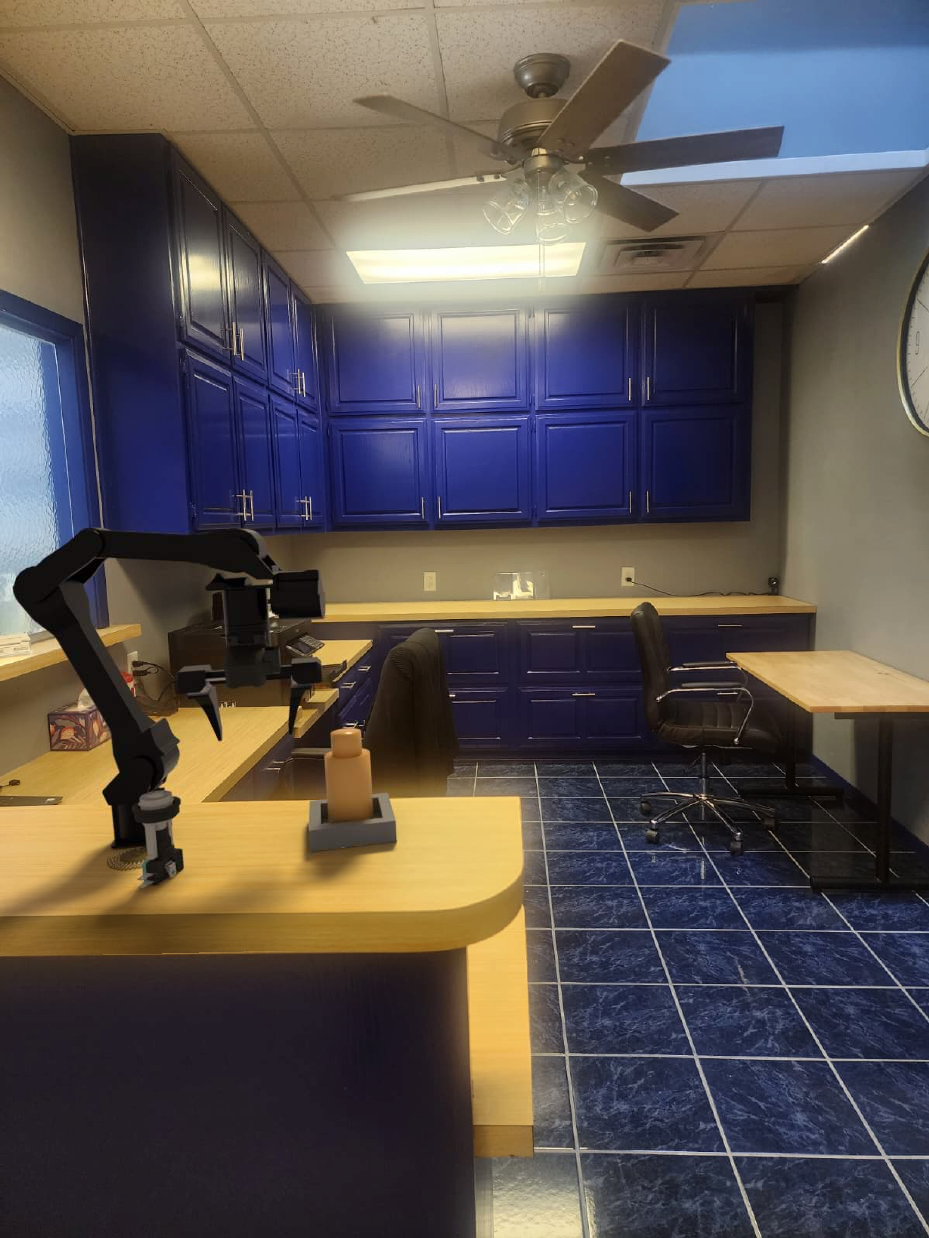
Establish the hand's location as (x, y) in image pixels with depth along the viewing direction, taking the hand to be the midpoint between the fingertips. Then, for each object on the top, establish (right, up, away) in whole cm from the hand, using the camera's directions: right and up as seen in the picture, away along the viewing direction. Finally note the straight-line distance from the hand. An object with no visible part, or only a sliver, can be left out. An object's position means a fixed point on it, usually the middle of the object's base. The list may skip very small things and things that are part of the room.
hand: (255, 737), depth 99 cm
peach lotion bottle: (+13, -12, 0) cm, 18 cm away
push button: (-8, -15, -12) cm, 21 cm away
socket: (+13, -13, 0) cm, 18 cm away
